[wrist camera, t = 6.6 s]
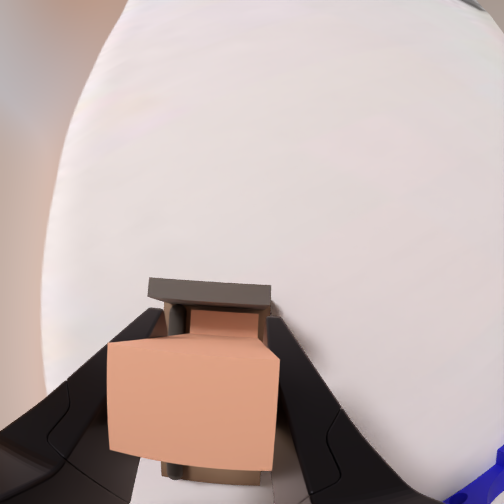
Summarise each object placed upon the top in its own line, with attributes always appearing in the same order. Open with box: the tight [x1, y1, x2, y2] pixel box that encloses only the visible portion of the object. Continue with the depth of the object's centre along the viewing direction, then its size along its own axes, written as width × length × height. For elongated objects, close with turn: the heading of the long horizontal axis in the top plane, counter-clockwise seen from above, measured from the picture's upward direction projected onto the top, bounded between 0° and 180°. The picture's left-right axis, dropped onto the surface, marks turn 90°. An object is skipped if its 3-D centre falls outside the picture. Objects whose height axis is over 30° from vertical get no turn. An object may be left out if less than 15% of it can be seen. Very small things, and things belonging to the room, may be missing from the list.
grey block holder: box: [147, 277, 271, 486], centre depth 11 cm, size 10×5×4 cm, turn 177°
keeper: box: [107, 310, 280, 471], centre depth 8 cm, size 4×3×9 cm
